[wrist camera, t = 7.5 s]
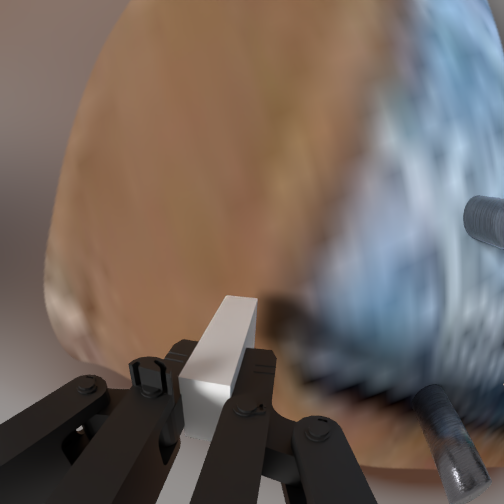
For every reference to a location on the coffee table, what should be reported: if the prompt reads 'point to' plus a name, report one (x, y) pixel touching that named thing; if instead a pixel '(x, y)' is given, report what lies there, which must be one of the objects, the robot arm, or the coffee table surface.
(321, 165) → the coffee table surface
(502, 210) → the gate post
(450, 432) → the gate post
